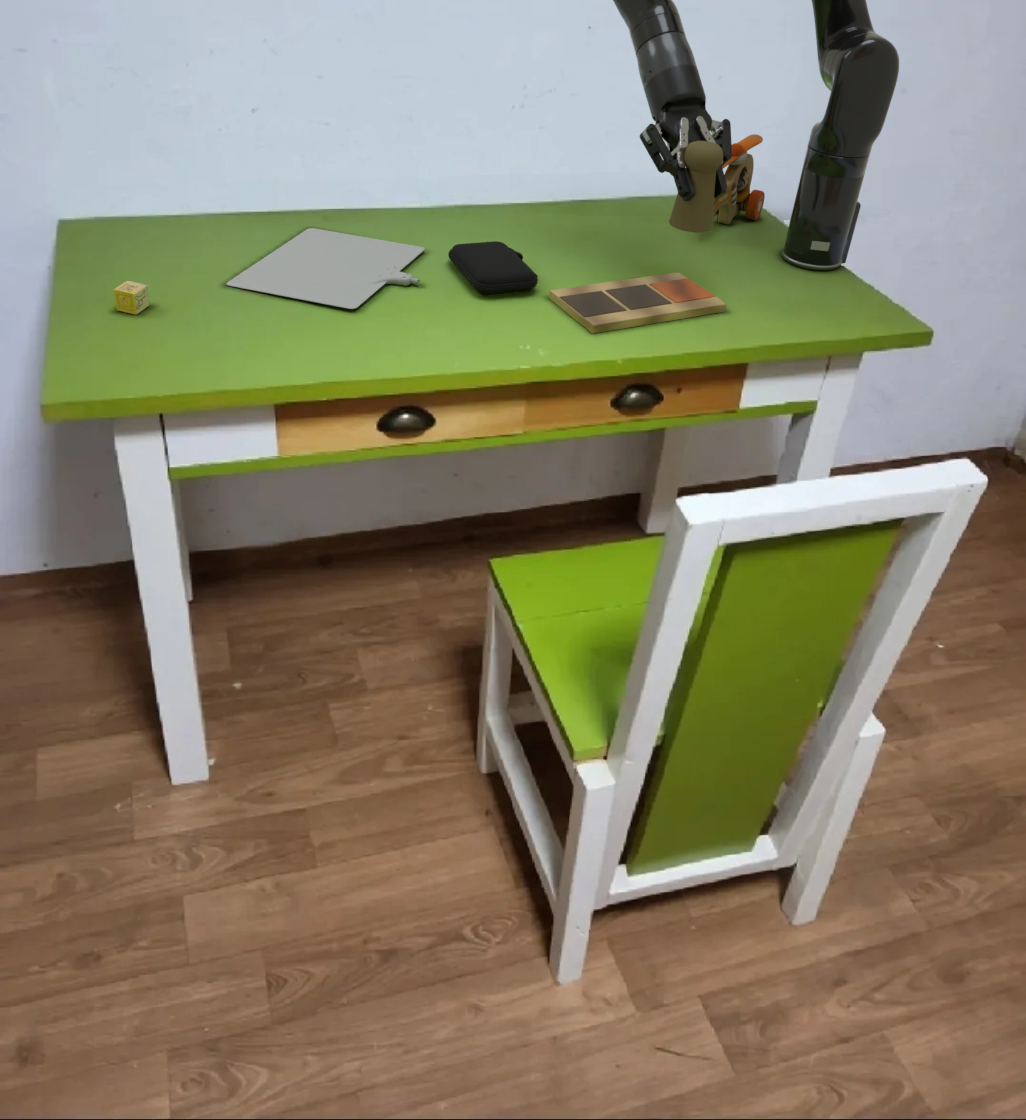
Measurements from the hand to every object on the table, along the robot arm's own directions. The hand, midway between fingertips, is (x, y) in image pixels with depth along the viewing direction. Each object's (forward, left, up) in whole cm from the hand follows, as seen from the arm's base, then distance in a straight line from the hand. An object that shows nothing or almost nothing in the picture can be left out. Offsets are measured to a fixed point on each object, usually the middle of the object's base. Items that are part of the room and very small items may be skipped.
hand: (705, 196), depth 143 cm
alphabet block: (+73, -21, -15) cm, 77 cm away
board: (+8, -1, -15) cm, 17 cm away
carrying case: (+23, -16, -15) cm, 32 cm away
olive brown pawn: (0, -2, -5) cm, 5 cm away
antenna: (+43, -25, -15) cm, 52 cm away
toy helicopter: (-25, -25, -15) cm, 39 cm away
